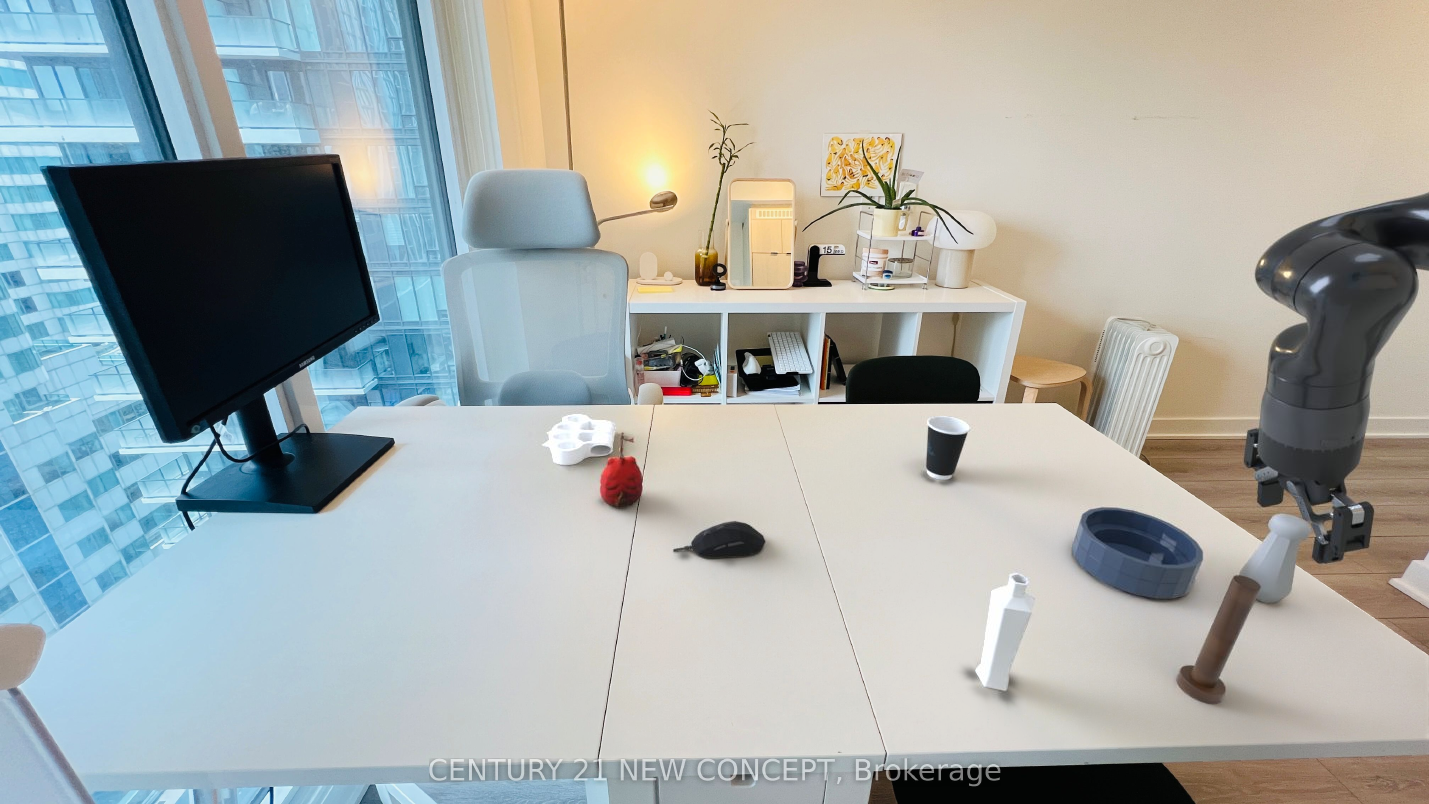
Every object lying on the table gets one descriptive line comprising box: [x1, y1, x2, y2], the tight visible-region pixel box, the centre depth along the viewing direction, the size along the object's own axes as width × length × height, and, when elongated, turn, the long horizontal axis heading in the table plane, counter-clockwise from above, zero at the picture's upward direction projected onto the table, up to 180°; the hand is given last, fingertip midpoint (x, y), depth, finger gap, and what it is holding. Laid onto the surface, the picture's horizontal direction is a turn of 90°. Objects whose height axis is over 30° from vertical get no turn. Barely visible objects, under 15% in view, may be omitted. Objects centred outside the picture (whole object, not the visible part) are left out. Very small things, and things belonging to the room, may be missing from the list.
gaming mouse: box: [672, 520, 766, 559], centre depth 95 cm, size 6×15×4 cm, turn 99°
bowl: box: [1071, 506, 1204, 600], centre depth 92 cm, size 16×16×6 cm
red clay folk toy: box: [599, 431, 644, 509], centre depth 105 cm, size 8×7×15 cm
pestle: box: [1176, 574, 1261, 705], centre depth 69 cm, size 4×4×16 cm
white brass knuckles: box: [542, 413, 617, 466], centre depth 128 cm, size 3×18×15 cm
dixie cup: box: [925, 415, 971, 481], centre depth 117 cm, size 8×8×11 cm
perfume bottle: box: [975, 572, 1036, 692], centre depth 70 cm, size 5×4×15 cm
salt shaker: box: [1238, 513, 1313, 604], centre depth 85 cm, size 6×6×13 cm
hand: (1296, 530), depth 67 cm, fingers open, 8 cm apart
